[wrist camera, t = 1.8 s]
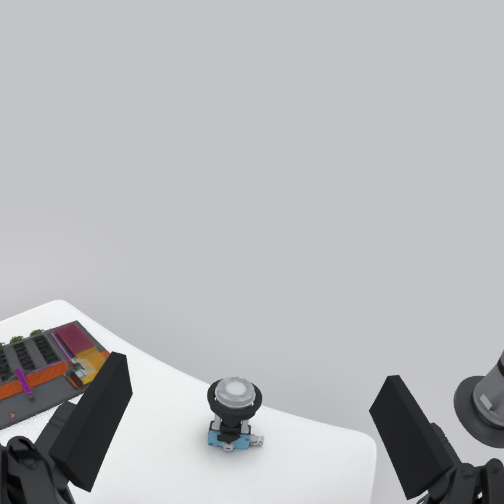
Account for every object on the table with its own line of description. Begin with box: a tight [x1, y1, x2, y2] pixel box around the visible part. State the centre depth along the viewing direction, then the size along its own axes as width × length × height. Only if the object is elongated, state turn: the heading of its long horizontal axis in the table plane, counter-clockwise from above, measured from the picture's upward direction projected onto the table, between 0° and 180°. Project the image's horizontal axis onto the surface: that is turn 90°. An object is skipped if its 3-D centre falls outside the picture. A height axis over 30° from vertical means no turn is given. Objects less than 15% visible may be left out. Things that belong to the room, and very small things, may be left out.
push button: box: [207, 377, 264, 451], centre depth 25 cm, size 7×5×10 cm
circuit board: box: [0, 320, 110, 430], centre depth 28 cm, size 25×18×3 cm
